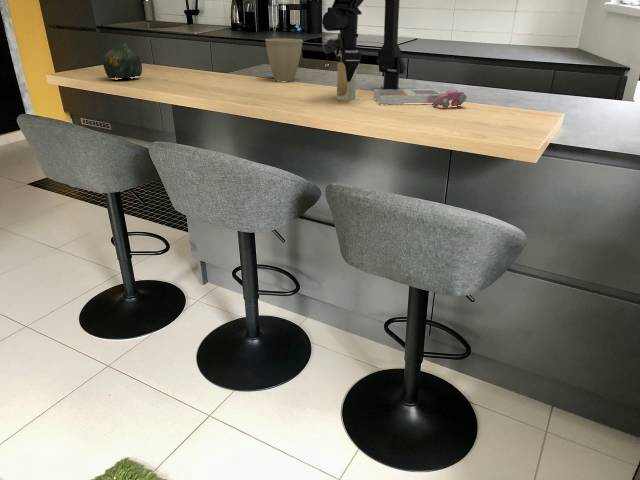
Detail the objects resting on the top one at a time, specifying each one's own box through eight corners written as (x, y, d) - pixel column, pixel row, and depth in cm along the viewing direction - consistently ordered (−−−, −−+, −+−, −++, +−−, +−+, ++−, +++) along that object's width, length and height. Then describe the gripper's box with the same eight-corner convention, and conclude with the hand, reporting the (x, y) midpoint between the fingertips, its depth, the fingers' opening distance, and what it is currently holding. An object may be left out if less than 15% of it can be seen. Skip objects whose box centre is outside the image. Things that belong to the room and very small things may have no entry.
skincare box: (344, 97, 180) (346, 60, 175) (355, 98, 178) (357, 61, 173) (335, 100, 175) (336, 62, 170) (347, 101, 173) (348, 63, 168)
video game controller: (435, 113, 165) (442, 95, 160) (430, 104, 168) (437, 86, 163) (463, 112, 168) (470, 94, 162) (457, 103, 171) (465, 85, 165)
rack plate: (373, 98, 179) (374, 88, 178) (434, 98, 181) (435, 88, 180) (380, 104, 169) (380, 94, 167) (445, 104, 171) (446, 94, 169)
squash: (89, 66, 202) (106, 36, 195) (113, 63, 216) (131, 35, 209) (115, 92, 204) (133, 64, 196) (138, 88, 217) (156, 61, 210)
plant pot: (301, 84, 205) (301, 41, 198) (264, 83, 205) (263, 40, 198) (303, 78, 218) (303, 38, 211) (268, 77, 219) (267, 37, 212)
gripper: (321, 28, 175) (320, 75, 182) (326, 31, 158) (325, 84, 165) (353, 28, 176) (351, 75, 183) (362, 32, 159) (360, 84, 166)
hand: (346, 79), depth 174 cm, fingers open, 9 cm apart
